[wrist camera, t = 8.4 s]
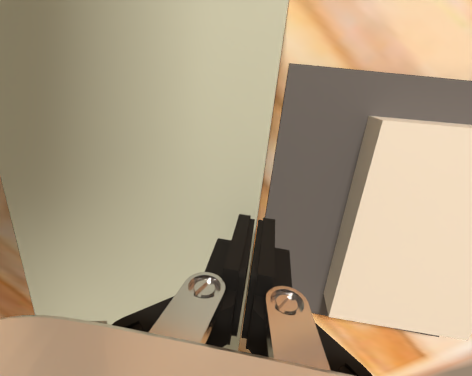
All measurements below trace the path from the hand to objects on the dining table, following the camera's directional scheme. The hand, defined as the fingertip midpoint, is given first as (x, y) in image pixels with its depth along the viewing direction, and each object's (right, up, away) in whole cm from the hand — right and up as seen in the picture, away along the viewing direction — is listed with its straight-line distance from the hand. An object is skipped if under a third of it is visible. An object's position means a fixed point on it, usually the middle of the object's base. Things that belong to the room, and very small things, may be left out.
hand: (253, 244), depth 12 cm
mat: (+8, +1, +4) cm, 9 cm away
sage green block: (-6, +3, +5) cm, 9 cm away
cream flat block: (+9, 0, +2) cm, 9 cm away
